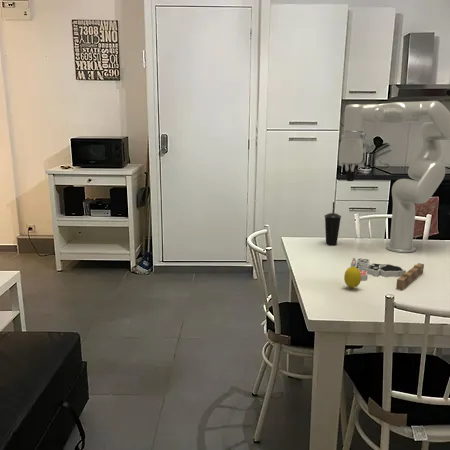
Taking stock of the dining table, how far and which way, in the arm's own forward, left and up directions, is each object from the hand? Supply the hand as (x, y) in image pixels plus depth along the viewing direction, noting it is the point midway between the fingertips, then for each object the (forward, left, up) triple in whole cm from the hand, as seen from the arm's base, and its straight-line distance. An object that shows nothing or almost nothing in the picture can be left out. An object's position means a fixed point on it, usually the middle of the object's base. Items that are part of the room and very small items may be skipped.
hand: (350, 180), depth 190 cm
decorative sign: (+15, +19, -33) cm, 41 cm away
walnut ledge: (+16, +32, -32) cm, 48 cm away
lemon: (+37, +19, -32) cm, 53 cm away
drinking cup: (-13, -13, -32) cm, 37 cm away
